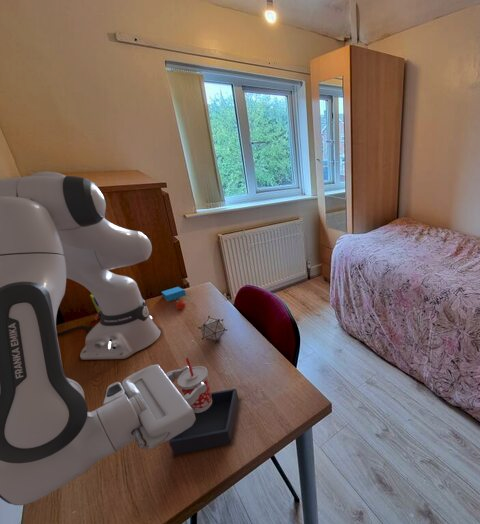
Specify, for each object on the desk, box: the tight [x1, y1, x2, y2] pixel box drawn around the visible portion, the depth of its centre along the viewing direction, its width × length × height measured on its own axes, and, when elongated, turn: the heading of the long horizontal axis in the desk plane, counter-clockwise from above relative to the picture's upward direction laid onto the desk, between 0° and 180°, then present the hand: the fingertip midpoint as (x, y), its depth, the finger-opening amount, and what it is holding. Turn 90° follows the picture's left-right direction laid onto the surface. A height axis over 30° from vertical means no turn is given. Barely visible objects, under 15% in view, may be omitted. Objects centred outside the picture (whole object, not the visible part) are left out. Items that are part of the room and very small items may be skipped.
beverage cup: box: [177, 357, 212, 413], centre depth 65 cm, size 6×6×14 cm
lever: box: [161, 286, 187, 310], centre depth 123 cm, size 7×7×18 cm
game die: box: [197, 315, 228, 343], centre depth 99 cm, size 9×8×10 cm
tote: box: [168, 388, 240, 456], centre depth 70 cm, size 12×12×4 cm
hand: (197, 376), depth 65 cm, fingers closed on beverage cup, 6 cm apart
